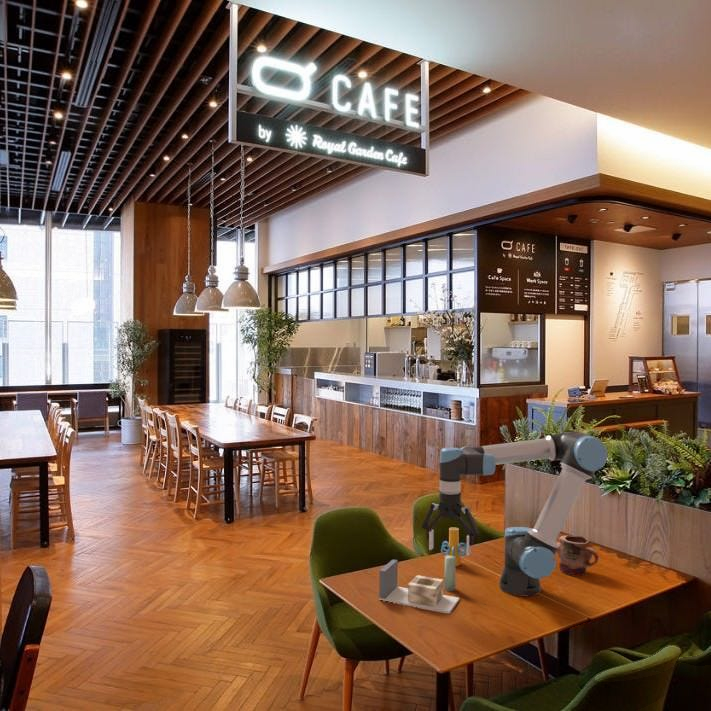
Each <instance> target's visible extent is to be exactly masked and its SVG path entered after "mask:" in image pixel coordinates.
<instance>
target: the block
mask: <svg viewBox="0 0 711 711" xmlns="http://www.w3.org/2000/svg"><path fill="white" fill-rule="evenodd" d="M407 588H408V601H409V602H415V603H420V604H425V605H430V606H435V605H436V604H437V603H438V602H439V600H440V599H441V598H442V597H443V595H444V579H443V578H437V577H430V576H425V575H424V576H423V575H419V574H417V575H416V576H415V577H414V578H413V579H412V580H411V581H410V582H409V583H408V584H407Z"/></svg>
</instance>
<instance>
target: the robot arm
mask: <svg viewBox="0 0 711 711" xmlns="http://www.w3.org/2000/svg"><path fill="white" fill-rule="evenodd" d="M545 459H549V460H550V461H552V462H553V461H560V465H561V471H560V473H559V475H558V477H557V479H556V481H555V483H554V485H553V488H552V490H551V492H550V494H549V496H548V498H547V499H546V502H545V503H544V506H543V508H542V511H541V512H540V513H539V515H538V516H539V517H538V518H537V520H536V522H535V525H534V527H533V528H532V527H527V526H526V527H525V526H510V527H506V529H505V530H504V567H503V569H502V572H501V575H500V577H499V588H500V590H502V591H503V592H504V591H505V593H506V592H507V594H509V593H511V594H510V595H513V594H516V595H515V596H518V595H533V596H535V595H534V594H537V593H539V592H540V591H541V590H542V589H541V588H542V587H541V586H542V584H541V582H540V579H543V578H547V577H549V576H550V575H551V574H552V573H553V571H554V570H555V568H556V564H557V563H556V562H557V560H556V557H555V555H556V554H557V553H556V551H557V549H558V545H557V543H558V540H557V539H559V536H560V533H561V532H562V529H563V528H564V526H565V524H566V521H567V519H568V517H569V515H570V513H571V511H572V508H573V507H574V504H576V501H577V499H578V496H579V495H580V493H581V490H582V488H583V486H584V484H585V482H586V481H587V480H590V479H592V478H593V477H594V474H595V472H596V471H598V470H601V469H602V468H603V467H604V466H605V465H606V463H607V461H608V450H607V448H606V445H605V443H604V442H603V441H602V440H600V439H599V438H596V437H595V436H593V435H591V434H590V435H589V434H585V433H582V432H580V431H567V432H566V431H565V432H562V433H561V432H560V433H555V434H548V435H545V437H544V438H538V439H537V438H536V439H529V440H528V439H527V440H522V441H514V442H513V441H512V442H506V443H504V442H503V443H498V444H497V443H496V444H489V445H482V446H474V447H472V446H467V445H466V446H462V447H461V448H459V447H452V446H451V447H450V446H449V447H443V448H441V449H440V452H439V461H438V462H439V491H440V492H439V500H438V501H439V504H437V503H435V502H432V503H431V504H430V506H429V511H428V513H427V515H426V517H425V519H424V521H423V523H422V525H421V529H423V530H425V531H426V540H428V550H429V551H432V550H433V549H434V532H435V531H434V529H432V528H433V527H435V525H436V524H437V523H438V522H439V521H440V520H441V519H442V518H444V519H451V520H454V519H455V520H456V521H457V522H458V523H459V524H460V525H461V527H462V528H463V530H464V531H465V533H466V534H467V535H466V547H467V548H466V556H470V555H471V550H472V548H471V547H472V546H473V545H474V542H475V541H474V537H475V536H479V533H480V532H479V529H478V527H477V525H476V522H475V520H474V518H473V516H472V514H471V507H470V506H466V507H463V506H462V493H461V491H462V476H483V477H485V476H490V475H491V476H492V475H494V474H495V472H496V465H504V464H505V465H506V464H513V463H522V462H527V461H528V462H529V461H537V460H538V461H539V460H545ZM437 509H438V511H439V514H438V515H437V516H436V517H435V518H434V520H433V521H432V522H431V523H430V524H429V522H430V521H431V519H432V517H433V515H434V513H435V511H436V510H437ZM462 512H463V514H465V517H466V520H467V521H466V520H465V519H464V517H463V515H462V514H461V513H462ZM467 522H468V523H467ZM540 593H541V592H540ZM540 593H539V594H540ZM537 595H538V594H537Z"/></svg>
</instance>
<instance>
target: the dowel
mask: <svg viewBox="0 0 711 711" xmlns="http://www.w3.org/2000/svg"><path fill="white" fill-rule="evenodd" d="M455 561H456V558H455V557H454V556H447V555H444V586H443V590H445V591H447V592H453V591H456V566H455Z"/></svg>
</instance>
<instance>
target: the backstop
mask: <svg viewBox="0 0 711 711" xmlns="http://www.w3.org/2000/svg"><path fill="white" fill-rule="evenodd" d="M398 563H399V562H398V559H391V560H390V561H388V563H386V565H384V566H383V567H382V568H380V569H379V589H378V590H379V599H378V600H379V601H380V600H383V601H382V602H385V601H389V602H388V603H390V602H393V603H392V604H396V603H397V605H401V604H402V605H401V606H406V605H407V606H406V607H411V606H412V607H411V608H416V607H417V609H422V610H427V611H433V612H438V613H444V614H448V615H450V614H451V612H452V611H453V610H454V608H456V606H457V604H458V603H459V602H460V597H458V596H457V597H456V596H451V595H447V594H446V595H445V594H443V597H442V598H441V599H440V600H439V602H438V603H437V604H436V605H435V606H430V605H425V604H420V603H415V602H409V601H408V587H401V586H398V571H399V570H398V567H399V566H398V565H399V564H398ZM457 602H458V603H457Z"/></svg>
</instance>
